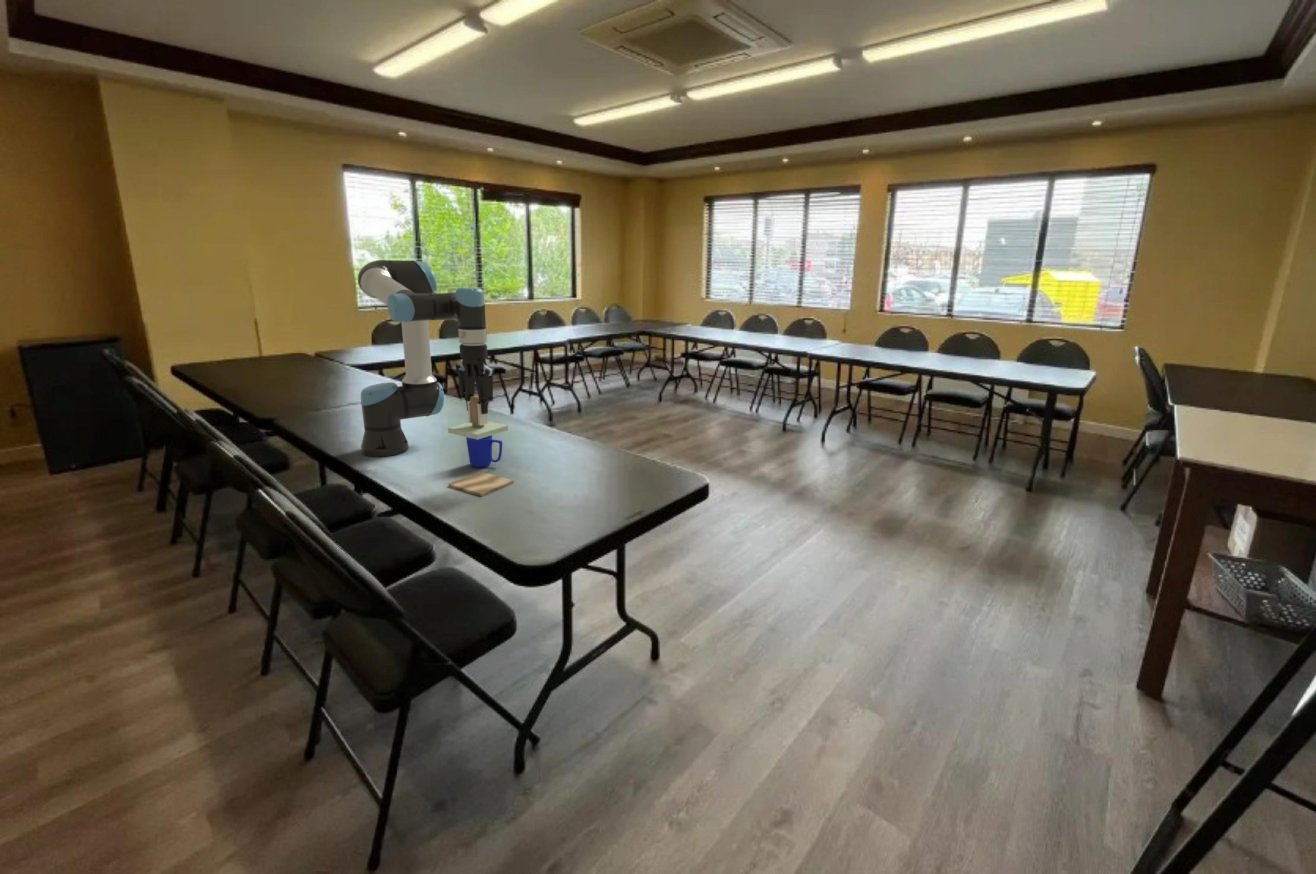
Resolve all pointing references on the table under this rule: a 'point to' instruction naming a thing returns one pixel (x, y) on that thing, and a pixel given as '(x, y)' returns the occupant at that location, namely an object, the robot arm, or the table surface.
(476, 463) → the mug
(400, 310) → the robot arm
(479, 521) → the table surface
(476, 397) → the lid
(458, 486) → the mat
